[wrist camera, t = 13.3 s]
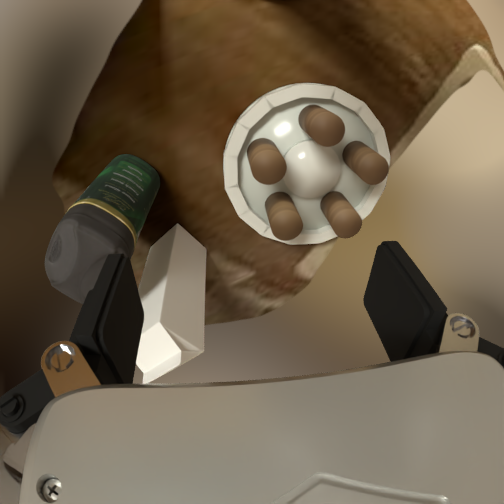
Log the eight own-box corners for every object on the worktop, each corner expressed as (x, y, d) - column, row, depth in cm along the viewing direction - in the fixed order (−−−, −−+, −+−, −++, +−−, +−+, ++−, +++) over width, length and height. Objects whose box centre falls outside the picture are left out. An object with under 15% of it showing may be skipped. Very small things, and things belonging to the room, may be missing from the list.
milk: (207, 248, 47) (206, 377, 29) (178, 271, 49) (166, 398, 30) (176, 221, 44) (155, 348, 26) (148, 246, 46) (118, 372, 28)
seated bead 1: (265, 191, 42) (271, 213, 37) (293, 191, 42) (304, 212, 37) (264, 217, 44) (270, 241, 39) (291, 216, 44) (301, 240, 39)
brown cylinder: (246, 138, 37) (251, 151, 32) (278, 137, 38) (287, 151, 33) (246, 167, 39) (251, 185, 34) (277, 166, 40) (285, 184, 35)
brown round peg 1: (321, 191, 42) (335, 211, 37) (347, 191, 42) (364, 211, 38) (318, 216, 44) (331, 238, 39) (344, 215, 45) (359, 237, 40)
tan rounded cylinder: (298, 103, 35) (312, 111, 30) (329, 105, 36) (346, 114, 31) (297, 133, 37) (310, 146, 33) (326, 134, 38) (343, 147, 33)
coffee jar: (120, 142, 37) (58, 207, 21) (170, 174, 40) (141, 257, 25) (88, 199, 40) (30, 284, 25) (134, 227, 44) (98, 323, 28)
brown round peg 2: (343, 139, 38) (362, 153, 33) (370, 141, 39) (390, 155, 34) (340, 167, 40) (357, 184, 35) (366, 168, 41) (385, 185, 36)
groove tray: (221, 81, 34) (221, 82, 32) (391, 92, 36) (399, 94, 34) (226, 239, 46) (226, 248, 44) (369, 234, 48) (374, 241, 46)
